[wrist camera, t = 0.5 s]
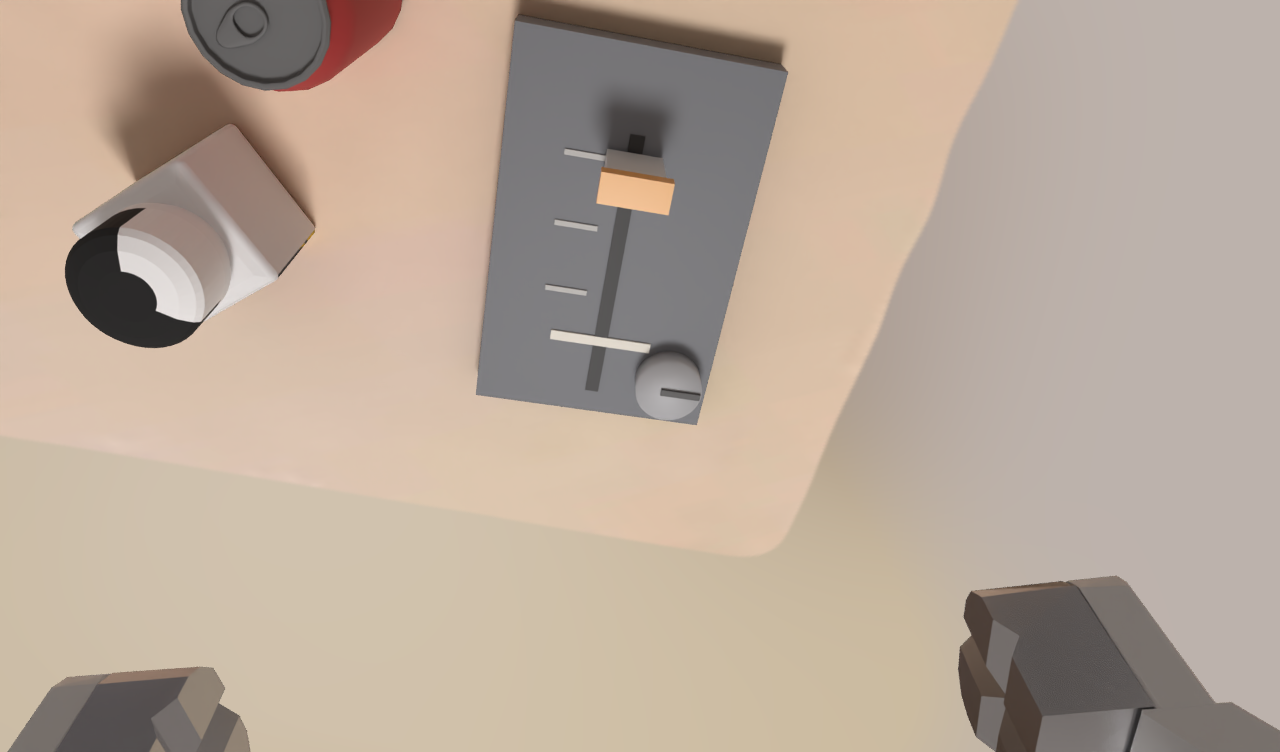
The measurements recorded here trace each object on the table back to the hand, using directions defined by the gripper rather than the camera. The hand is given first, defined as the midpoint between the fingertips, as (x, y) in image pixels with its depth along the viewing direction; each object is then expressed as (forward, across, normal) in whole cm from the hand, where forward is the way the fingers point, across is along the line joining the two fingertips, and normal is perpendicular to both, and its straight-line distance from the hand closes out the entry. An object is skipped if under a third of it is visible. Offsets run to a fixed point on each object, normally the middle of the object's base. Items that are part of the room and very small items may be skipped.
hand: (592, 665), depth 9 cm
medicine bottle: (+42, +22, +7) cm, 48 cm away
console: (+41, +1, +11) cm, 43 cm away
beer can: (+42, +13, -4) cm, 44 cm away
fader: (+39, -1, +6) cm, 40 cm away
